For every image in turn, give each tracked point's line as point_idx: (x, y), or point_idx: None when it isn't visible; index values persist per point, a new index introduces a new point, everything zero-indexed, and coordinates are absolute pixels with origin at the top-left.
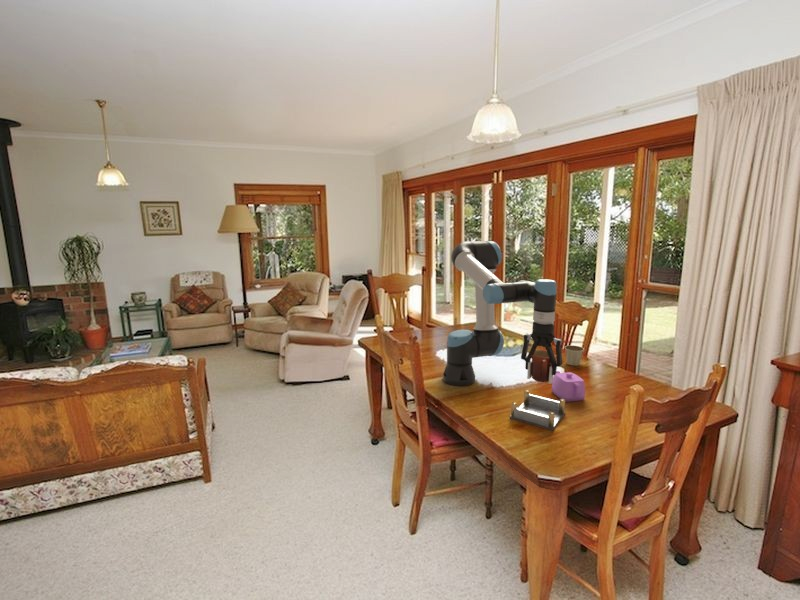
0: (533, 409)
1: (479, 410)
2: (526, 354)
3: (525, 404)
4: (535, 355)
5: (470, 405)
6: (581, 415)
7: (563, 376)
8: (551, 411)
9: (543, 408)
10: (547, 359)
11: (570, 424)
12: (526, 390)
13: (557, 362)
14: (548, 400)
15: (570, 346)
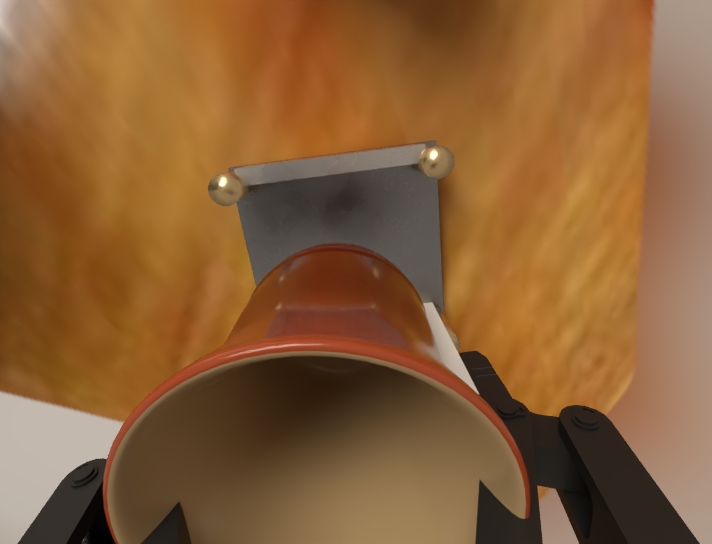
0: (311, 230)
1: (148, 363)
2: (90, 509)
3: (254, 206)
4: (189, 429)
5: (91, 352)
6: (503, 99)
7: None
8: (383, 190)
9: (340, 186)
10: None
11: (483, 227)
12: (216, 184)
13: (578, 519)
14: (356, 170)
15: None
